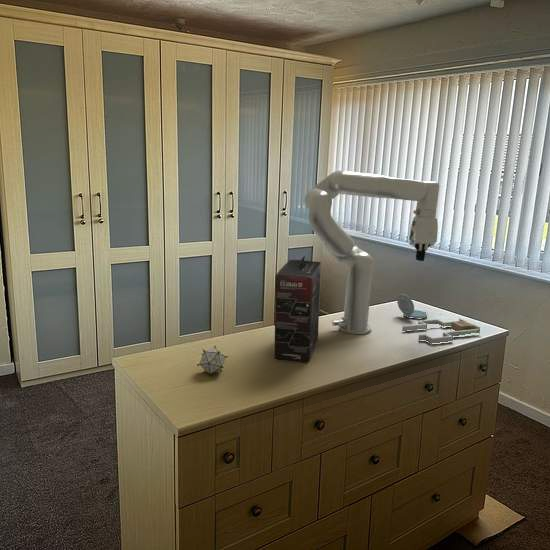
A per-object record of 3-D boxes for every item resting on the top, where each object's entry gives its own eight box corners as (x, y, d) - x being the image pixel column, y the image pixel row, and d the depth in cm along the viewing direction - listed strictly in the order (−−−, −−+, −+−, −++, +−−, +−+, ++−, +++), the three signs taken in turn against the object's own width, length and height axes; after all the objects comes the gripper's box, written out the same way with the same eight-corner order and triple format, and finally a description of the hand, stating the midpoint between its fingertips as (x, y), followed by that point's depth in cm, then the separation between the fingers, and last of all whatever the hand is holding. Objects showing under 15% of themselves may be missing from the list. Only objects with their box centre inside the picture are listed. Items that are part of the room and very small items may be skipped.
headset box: (309, 364, 168) (314, 265, 160) (271, 360, 170) (275, 262, 163) (318, 339, 191) (323, 252, 184) (285, 336, 194) (288, 250, 186)
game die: (211, 381, 161) (216, 350, 165) (229, 379, 156) (234, 347, 160) (189, 373, 156) (195, 342, 160) (207, 372, 150) (213, 339, 154)
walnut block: (459, 336, 201) (460, 326, 201) (450, 331, 207) (452, 321, 206) (472, 335, 203) (474, 325, 202) (464, 330, 209) (465, 321, 208)
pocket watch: (395, 291, 222) (420, 288, 230) (393, 315, 225) (418, 311, 232) (412, 297, 214) (437, 293, 221) (410, 322, 216) (435, 317, 224)
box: (426, 345, 189) (427, 336, 188) (396, 328, 207) (396, 320, 206) (486, 339, 198) (488, 330, 198) (453, 323, 216) (454, 315, 216)
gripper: (414, 214, 192) (408, 262, 196) (447, 215, 197) (441, 262, 201) (403, 212, 199) (398, 258, 203) (436, 213, 204) (430, 258, 208)
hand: (419, 260), depth 202 cm, fingers closed
